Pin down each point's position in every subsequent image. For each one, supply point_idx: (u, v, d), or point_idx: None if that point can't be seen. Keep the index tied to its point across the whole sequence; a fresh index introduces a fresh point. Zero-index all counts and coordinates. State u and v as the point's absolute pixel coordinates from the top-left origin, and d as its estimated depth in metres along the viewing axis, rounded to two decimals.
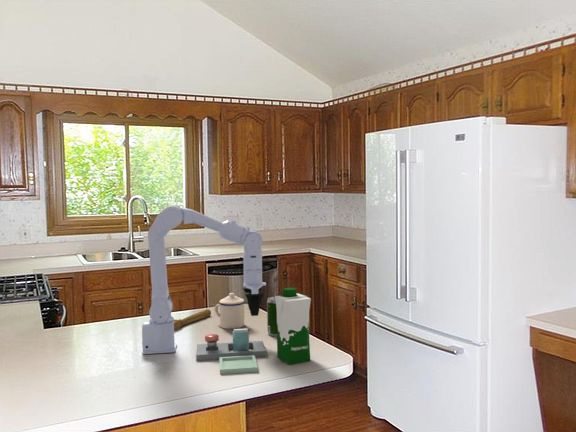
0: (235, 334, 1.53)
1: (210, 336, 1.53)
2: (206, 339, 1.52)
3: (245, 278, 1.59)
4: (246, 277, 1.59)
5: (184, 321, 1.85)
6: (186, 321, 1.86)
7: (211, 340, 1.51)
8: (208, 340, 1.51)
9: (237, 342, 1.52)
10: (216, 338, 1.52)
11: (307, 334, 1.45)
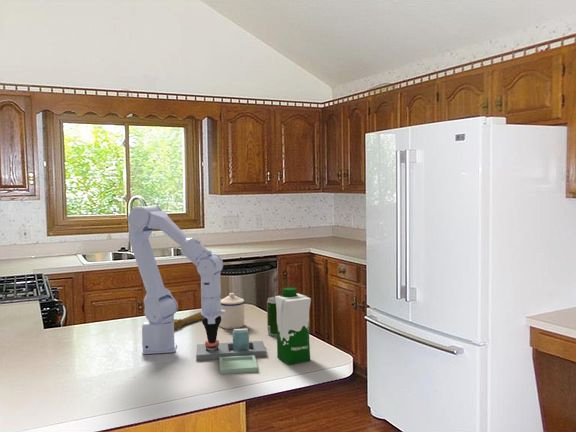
0: (235, 334, 1.53)
1: None
2: (206, 345, 1.52)
3: (202, 306, 1.51)
4: (203, 305, 1.51)
5: (184, 321, 1.85)
6: (186, 321, 1.86)
7: (211, 346, 1.51)
8: (208, 346, 1.52)
9: (237, 342, 1.52)
10: (216, 344, 1.52)
11: (307, 334, 1.45)
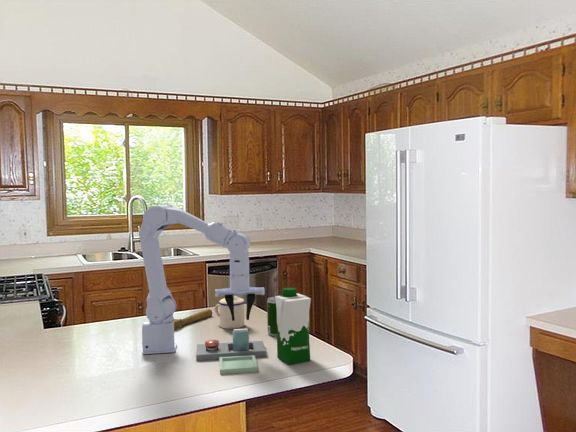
0: (235, 334, 1.53)
1: (210, 342, 1.53)
2: (206, 345, 1.52)
3: None
4: None
5: (184, 321, 1.85)
6: (187, 321, 1.86)
7: (211, 346, 1.51)
8: (208, 346, 1.52)
9: (237, 342, 1.52)
10: (216, 344, 1.52)
11: (307, 334, 1.45)
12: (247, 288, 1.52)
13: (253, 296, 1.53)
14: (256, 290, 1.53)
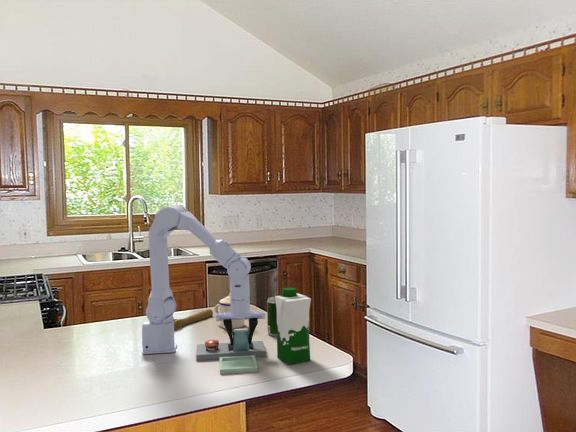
0: (235, 334, 1.53)
1: (210, 342, 1.53)
2: (206, 345, 1.52)
3: None
4: None
5: (185, 321, 1.85)
6: (187, 321, 1.86)
7: (211, 346, 1.51)
8: (208, 346, 1.52)
9: (237, 342, 1.52)
10: (216, 344, 1.52)
11: (307, 334, 1.45)
12: (247, 313, 1.53)
13: (253, 320, 1.53)
14: (256, 314, 1.53)
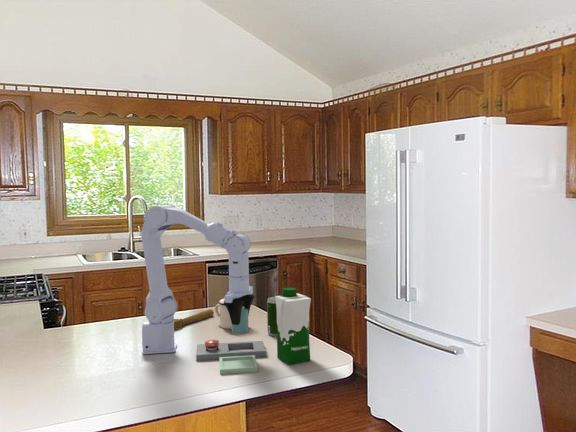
0: (242, 313, 1.49)
1: (210, 342, 1.53)
2: (206, 345, 1.52)
3: (229, 285, 1.50)
4: (229, 284, 1.50)
5: (185, 321, 1.85)
6: (187, 321, 1.86)
7: (211, 346, 1.51)
8: (208, 346, 1.52)
9: (244, 320, 1.49)
10: (216, 344, 1.52)
11: (307, 334, 1.45)
12: None
13: (250, 295, 1.54)
14: (251, 289, 1.55)
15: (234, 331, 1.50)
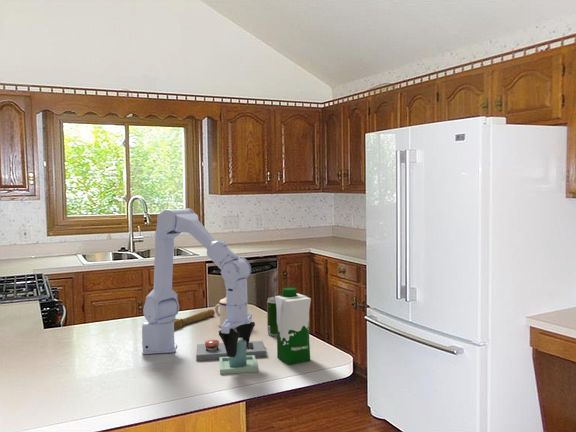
0: (239, 345, 1.40)
1: (210, 342, 1.53)
2: (206, 345, 1.52)
3: None
4: None
5: (185, 320, 1.86)
6: (187, 321, 1.86)
7: (211, 346, 1.51)
8: (208, 346, 1.52)
9: (241, 353, 1.41)
10: (216, 344, 1.52)
11: (307, 334, 1.45)
12: None
13: (249, 323, 1.45)
14: (249, 317, 1.46)
15: (231, 364, 1.41)
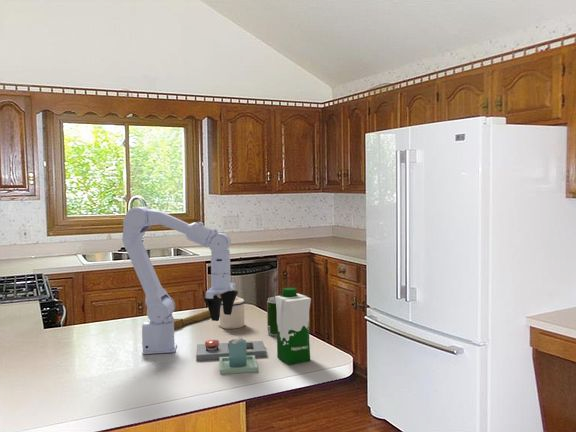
0: (239, 345, 1.40)
1: (210, 342, 1.53)
2: (206, 345, 1.52)
3: (211, 281, 1.56)
4: (211, 280, 1.56)
5: (185, 320, 1.86)
6: (188, 320, 1.86)
7: (211, 346, 1.51)
8: (208, 346, 1.52)
9: (241, 353, 1.40)
10: (216, 344, 1.52)
11: (307, 334, 1.45)
12: None
13: (232, 292, 1.60)
14: (233, 285, 1.60)
15: (231, 364, 1.41)
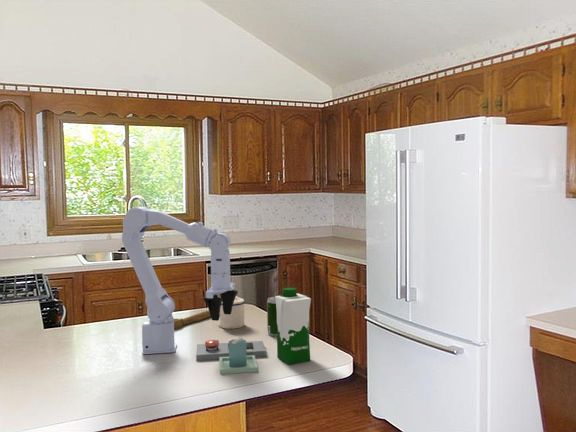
0: (239, 345, 1.40)
1: (210, 342, 1.53)
2: (206, 345, 1.52)
3: (211, 281, 1.56)
4: (211, 280, 1.56)
5: (186, 320, 1.86)
6: (188, 320, 1.86)
7: (211, 346, 1.51)
8: (208, 346, 1.52)
9: (241, 353, 1.40)
10: (216, 344, 1.52)
11: (307, 334, 1.45)
12: None
13: (232, 291, 1.60)
14: (232, 285, 1.61)
15: (231, 364, 1.41)
